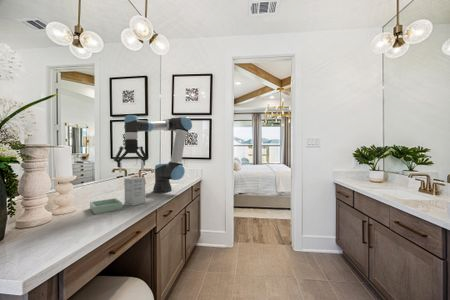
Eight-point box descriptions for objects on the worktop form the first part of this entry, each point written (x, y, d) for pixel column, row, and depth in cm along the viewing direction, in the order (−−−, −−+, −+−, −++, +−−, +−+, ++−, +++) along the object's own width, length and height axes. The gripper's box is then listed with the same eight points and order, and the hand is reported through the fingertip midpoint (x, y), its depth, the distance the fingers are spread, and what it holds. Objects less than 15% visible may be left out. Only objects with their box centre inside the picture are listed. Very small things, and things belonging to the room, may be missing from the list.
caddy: (115, 204, 130) (115, 198, 130) (122, 209, 118) (121, 202, 118) (90, 208, 121) (89, 202, 121) (93, 214, 109) (93, 207, 109)
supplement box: (146, 202, 133) (145, 177, 133) (133, 206, 125) (133, 179, 125) (136, 201, 138) (136, 176, 138) (124, 204, 130) (123, 178, 130)
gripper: (148, 139, 142) (148, 169, 142) (108, 138, 126) (108, 172, 126) (152, 139, 137) (152, 170, 137) (111, 138, 120) (111, 173, 120)
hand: (131, 171), depth 131 cm, fingers open, 13 cm apart
